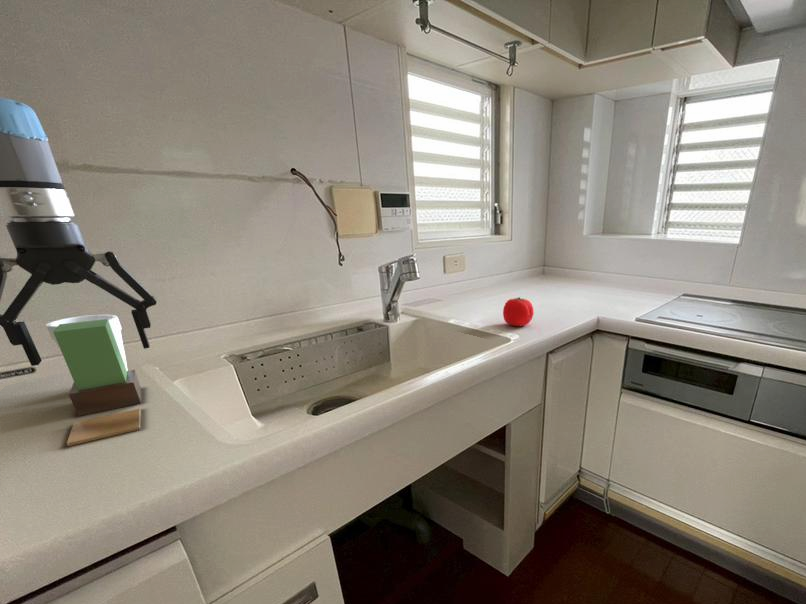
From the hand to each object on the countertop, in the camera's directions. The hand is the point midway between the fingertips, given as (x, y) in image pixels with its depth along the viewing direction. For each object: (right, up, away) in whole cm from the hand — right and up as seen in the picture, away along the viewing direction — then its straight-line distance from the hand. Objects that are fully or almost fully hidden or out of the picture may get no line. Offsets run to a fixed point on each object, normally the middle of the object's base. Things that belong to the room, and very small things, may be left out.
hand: (95, 354), depth 68 cm
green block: (0, -5, +2) cm, 5 cm away
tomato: (+74, +12, +55) cm, 93 cm away
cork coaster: (+7, -12, -5) cm, 15 cm away
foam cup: (-7, -6, +10) cm, 14 cm away
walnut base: (0, -8, +3) cm, 9 cm away
